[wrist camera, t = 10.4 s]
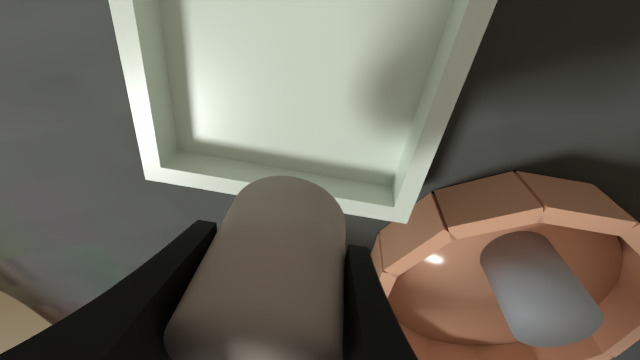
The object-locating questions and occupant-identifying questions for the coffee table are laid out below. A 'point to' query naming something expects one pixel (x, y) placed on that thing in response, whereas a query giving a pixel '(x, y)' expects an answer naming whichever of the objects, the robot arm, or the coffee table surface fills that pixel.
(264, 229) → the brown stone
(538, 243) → the slate stone
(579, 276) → the bowl
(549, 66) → the coffee table surface
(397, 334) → the robot arm
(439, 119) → the parts tray
